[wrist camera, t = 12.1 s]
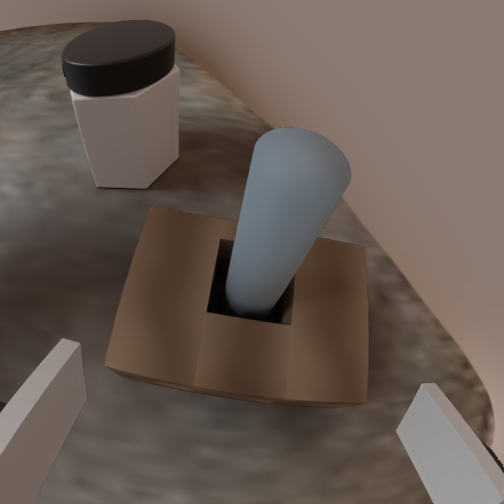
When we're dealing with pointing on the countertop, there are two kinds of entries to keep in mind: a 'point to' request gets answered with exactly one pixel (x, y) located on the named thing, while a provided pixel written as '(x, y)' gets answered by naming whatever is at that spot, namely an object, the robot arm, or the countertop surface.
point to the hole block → (241, 320)
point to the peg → (281, 216)
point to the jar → (125, 100)
